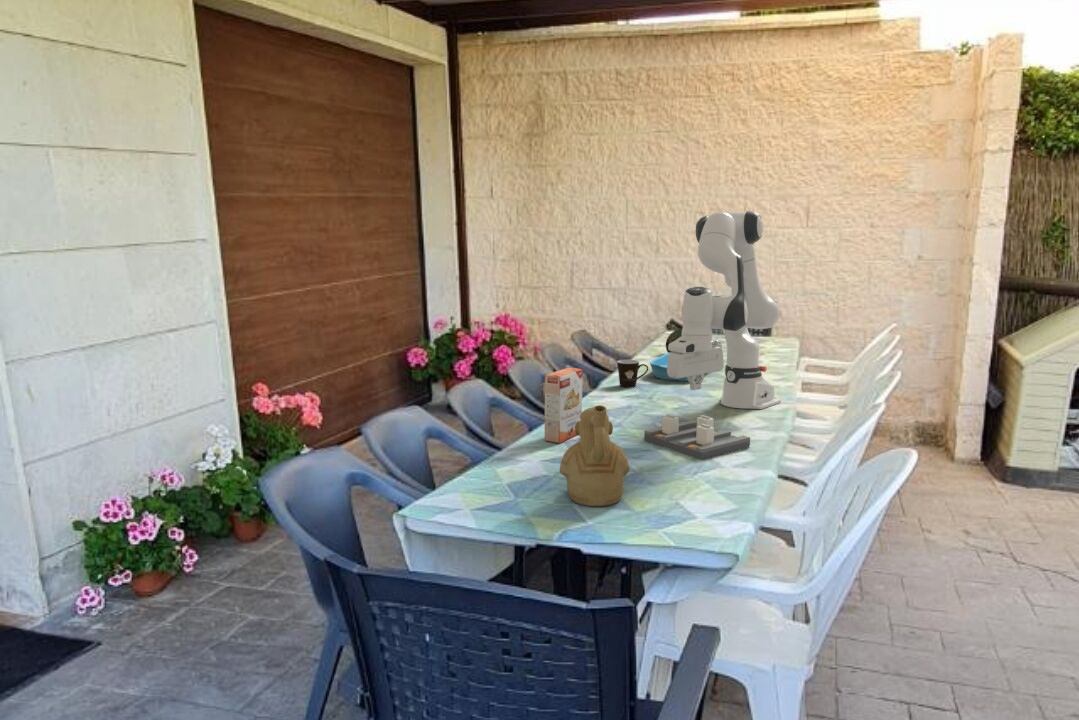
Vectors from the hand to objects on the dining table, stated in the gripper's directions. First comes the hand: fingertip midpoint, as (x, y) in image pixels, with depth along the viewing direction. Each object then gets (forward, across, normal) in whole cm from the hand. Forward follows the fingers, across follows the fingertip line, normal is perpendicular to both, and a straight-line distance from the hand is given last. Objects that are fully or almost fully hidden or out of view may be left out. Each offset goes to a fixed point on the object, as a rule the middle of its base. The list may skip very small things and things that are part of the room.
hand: (695, 389), depth 233 cm
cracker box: (+17, +27, -29) cm, 43 cm away
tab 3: (+15, +3, +7) cm, 17 cm away
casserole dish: (+18, -70, -76) cm, 105 cm away
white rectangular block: (+15, -4, 0) cm, 15 cm away
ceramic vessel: (+17, +52, +18) cm, 58 cm away
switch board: (+17, -1, 0) cm, 17 cm away
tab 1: (+15, +3, -7) cm, 17 cm away
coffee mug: (+17, -37, -71) cm, 82 cm away
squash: (+17, -101, -108) cm, 149 cm away
